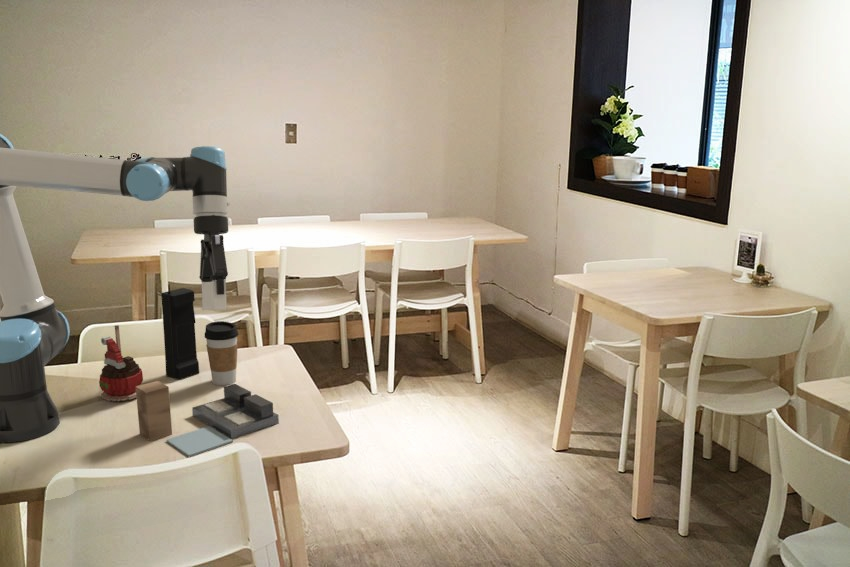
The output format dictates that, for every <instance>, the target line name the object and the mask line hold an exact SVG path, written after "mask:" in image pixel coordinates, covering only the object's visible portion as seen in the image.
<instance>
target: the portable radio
mask: <svg viewBox="0 0 850 567" xmlns="http://www.w3.org/2000/svg"><path fill="white" fill-rule="evenodd" d="M167 288H168V291H163V292H161V293H160V296H161V298H160V299H161V310H162V324H163V338H164V339H163V340H164V356H165V357H164V358H165V375H166V377H169V378H172V379H174V380H183V379H187V378H190V377H193V376H195V375H198V374H199V373H200V367H199V366H200V363H199V360H198V354H197V343H196V342H197V341H196V339H197V338H196V328H195V327H196V325H195V324H197V323H196V315H195V308H194V302H195V301H196V299H195V291H194V290H192V289H190V288H184V287H181V288H177V289H172V290H171V284H168V285H167Z"/></svg>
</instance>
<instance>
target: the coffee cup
mask: <svg viewBox="0 0 850 567" xmlns="http://www.w3.org/2000/svg"><path fill="white" fill-rule="evenodd" d="M238 336H239V331H238V328H237V325H236V324H235V323H233V322H229V321H224V320H223V321H222V320H221V321H211V322H210V323H209V322H208V323H207V324H206V325H205V332H204V338H205V339H206V352H207V356H208V362H209V368H210V374H211V375H210V376H211V382H212V384H214V385H216V386H229V385H232V384H235V382H237V365H238V363H237V362H238V345H239V344H238Z"/></svg>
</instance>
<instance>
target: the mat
mask: <svg viewBox="0 0 850 567" xmlns="http://www.w3.org/2000/svg"><path fill="white" fill-rule="evenodd" d="M166 442H167V443H168V444H170V445H172V446H173V447H175V448H176V449H177V450H179V451H180V452H182V453H183V454H184V455H186V456H187V457H189V458H190V457H194V456H197V455H199V454H202V453H205V452H207V451H211V450H214V449H217V448H220V447H223V446H225V445H229V444H232V443H233V442H234V439H230V438H229V437H227V436H225V435H224V434H222V433H220V432H219V431H217V430H215V429H214V428H212V427H211V426H209V425H207V426H205V427H202V428H199V429H195V430H193V431H188V432H186V433H182V434H180V435H177V436H173V437H170V438H167V439H166Z"/></svg>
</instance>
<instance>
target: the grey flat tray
mask: <svg viewBox="0 0 850 567" xmlns="http://www.w3.org/2000/svg"><path fill="white" fill-rule="evenodd" d="M223 396H224V397H223V398H220V399H216V400H214V401H209V402H207V403H203V404H200V405H195V406H193V407H191V409H192V410H191V412H192V417H194V418H196V419H197V420H198V421H201V422H202V423H204V424H205V425H207V426H210V427H212V428H213V429H215V430H217V431H218V432H220V433H222V434H223V435H225V436H227V437H228V438H230V439H231V440H234V439H236V438H239V437H242V436H244V435H248V434H250V433H253V432H256V431H260V430H263V429H265V428H269V427H271V426H274V425H278V424H279V422H280V419H279V414H277V413H276V412H274V403H273V402H272V401H270V400H268V399H266V398H264V397H262V396H260V395H258V394H252V391H251V390H248V389H246V388H245V387H242V386H241V385H238V384H237V383H232V384H229V385H224V386H223Z"/></svg>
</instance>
